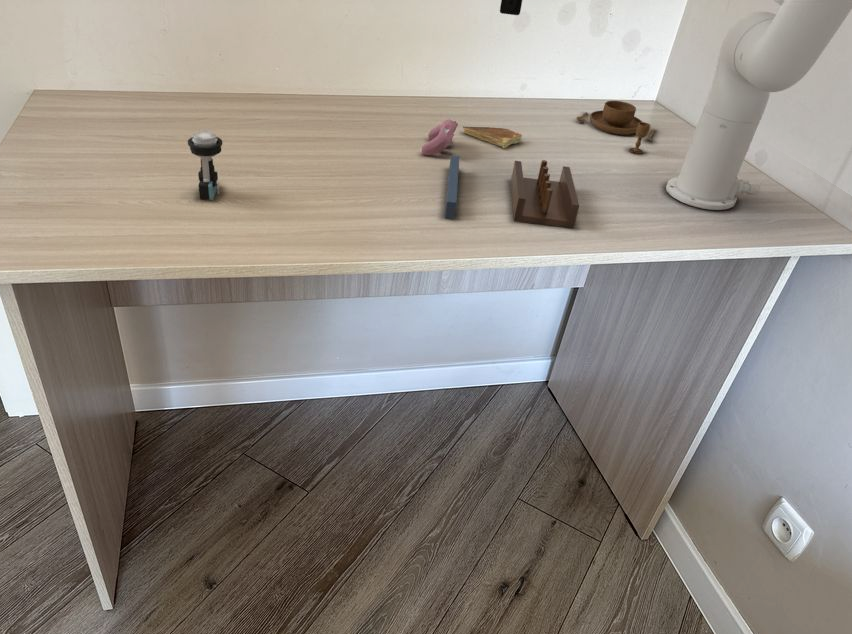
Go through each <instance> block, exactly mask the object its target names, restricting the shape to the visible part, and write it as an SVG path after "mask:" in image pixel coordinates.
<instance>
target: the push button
mask: <svg viewBox="0 0 852 634" xmlns="http://www.w3.org/2000/svg"><path fill="white" fill-rule="evenodd" d="M187 145H188V147H189V150H190V153H191V154H193V155H194V156H196V157H198V158H200V168H199V169H200V170H199V171H198V173H197V175H198V181H199V182H198V194H199V195H198V196H199V200H207V201H210V200H211V201H213V200H214V198H215V194H216V192H217V195H219V194H220V185H219V183H217V181H218V180H219V177H218V175H219V174H218V172H217V171H216V170H215V165H214V159H213V158H214V157H216V156H217V155H219V154H220V153H221V152H222V146H223V140H222V138H220V137H218V136H217V134H216V133H215V132H213V131H209V130H200V131H196V132H194V133H193V134H192V136H191V137H190V138H189V139H187Z"/></svg>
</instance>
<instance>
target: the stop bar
mask: <svg viewBox="0 0 852 634" xmlns="http://www.w3.org/2000/svg"><path fill="white" fill-rule="evenodd" d="M459 171H460V156H459V155H452V154H451V155H450V161H449V168H448V177H447V187H446V197H445V198H446V200H445V210H444V218H445V219H451V220H455V215H456V212H457V211H456V210H457V204H458V203H457V202H458V191H459V188H458V187H459V173H460V172H459Z"/></svg>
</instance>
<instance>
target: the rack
mask: <svg viewBox="0 0 852 634" xmlns="http://www.w3.org/2000/svg"><path fill="white" fill-rule="evenodd" d="M513 162H514V163H513V167H512V173H511V176H510V191H511V204H512V214H513V221H514V222H519V223H527V224H537V225H543V226H552V227H560V228H570V229H574V227H575V223H576V219H577V216H578V212H579V209H580V206H581V205H580V201H579V198H578V195H577V194H578V193H577V190H576V185H575V182H574V179H573V174H572V172H571V167H570V166H562V169H561V173H560V176H559V181H557V180H550V177H551V174H549V173H548V172H549V167H548V166H547V165H548V161H547V160H546V159H542V160H541V162H540V165H539V166H540V167H539V171H538V176H537V178H531V177H525V176H524V173H523V164H522V163H523V162H522V161H521V160H514V161H513Z"/></svg>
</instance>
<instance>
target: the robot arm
mask: <svg viewBox="0 0 852 634" xmlns="http://www.w3.org/2000/svg"><path fill="white" fill-rule="evenodd" d="M773 1H774V2H775V3H776V4H778V5H779V6H780V7H779V9H778V11H777V12H776V13H773V12H770V11H754V12H751V13H748V14H745V15H744V16H742V17H740V18H739V19H738V20H736V21H735V22H734V23H733V24H732V25H731V27H730V28H729V29H728V31H727V32H726V34H725V36H724V38H723V39H722V42H721V45H720V49H719V51H718V57H717V61H716V66H715V72H714V76H713V79H712V82H711V86H710V89H709V92H708V95H707V98H706V101H705V103H704V105H703V108H702V111H701V114H700V117H699V119H698V123H697V125H696V127H695V131H694V132H693V136H692V139H691V142H690V144H689V147H688V150H687V153H686V156H685V159H684V161H683V164H682V167H681V170H680V172H679V175H678V176H675V177H672V178H670V179H669V180H668V181H667V183H666V185H665V190H666V192H667V193H668V194H669V196H671V197H672V198H674V199H675V200H677V201H678V202H680V203H683V204H684V205H685V204H686V205H688V206H691V207H694V208H697V209H698V208H699V209H703V210H710V211H723V210H724V211H725V210H728V209H731V208H733V207H734V206H735V205H736V203H737V201H738V196H740V195H741V194H744V195H749V196H758V195H759V194H760V192H761V185H760V184H752V183H749V182H750V181H749V180H748V179H739V178H738V175H739V172H740V170H741V167H742V165H743V163H744V162H745V161H744V160H745V158H746V156H747V153H748V150H749V149H750V146H751V143H752V141H753V139H754V137H755V134H756V133H757V132H756V131H757V129H758V127H759V124H760V122H761V120H762V117H763V116H764V113H765V110H766V107H767V105H768V102H769V99H770V95H771V93H778V92H782V91H785V90H788V89H790V88H791V87H793V86H795V85H796V84H797V83H799V82H800V81H801V80H802V79H803V78H804V77H805V76H806V75H807V74H808V72H809V71H810V70H811V69H812V68H813V66H814V65H815V64H816V62H817V60H818V59H819V58H820V56H821V55H822V54H823V52H824V51H825V49H826V47H827V46H828V45H829V43H831V40H832V39H833V37H834V36H835V34H836V33H838V30H839V29H840V27H841V26H842V25H843V23H844V21H845V20H846V18H847V17H848V15H849V14H850V12H851V11H852V0H773ZM522 4H523V0H500V7H499V13H500V14H501V15H502V14H503V15H511V16H519V15H520V14H521V10H522Z"/></svg>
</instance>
